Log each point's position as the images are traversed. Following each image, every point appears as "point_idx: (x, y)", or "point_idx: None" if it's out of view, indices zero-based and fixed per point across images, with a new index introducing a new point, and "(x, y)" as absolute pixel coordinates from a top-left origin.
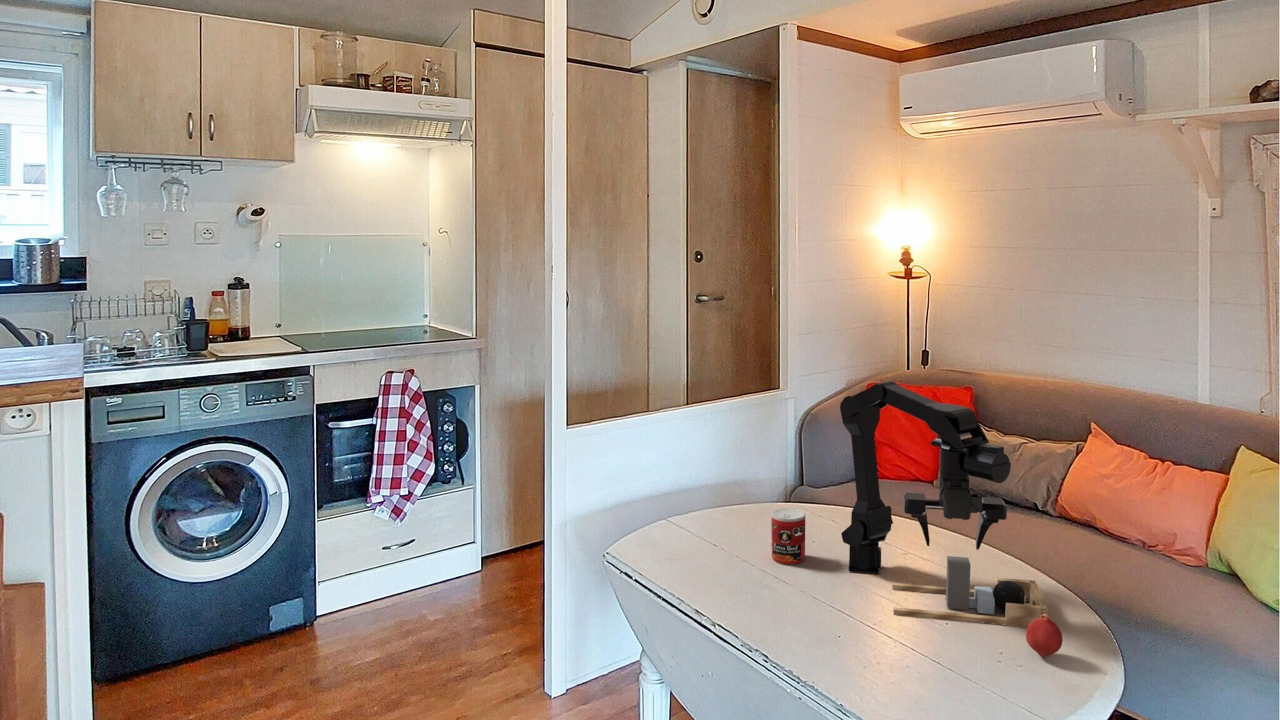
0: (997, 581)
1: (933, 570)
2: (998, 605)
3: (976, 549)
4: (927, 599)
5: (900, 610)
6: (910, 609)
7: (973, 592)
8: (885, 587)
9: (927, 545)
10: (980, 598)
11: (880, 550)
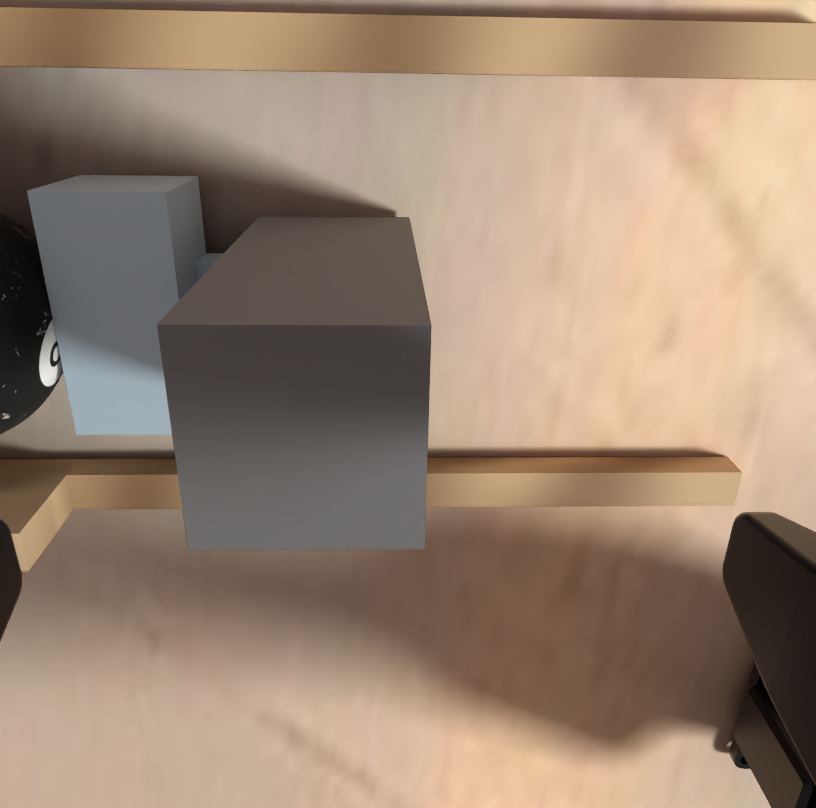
0: (27, 530)
1: (435, 738)
2: (30, 234)
3: (6, 523)
4: (525, 355)
5: (797, 23)
6: (711, 62)
7: None
8: (763, 477)
9: (773, 513)
10: (146, 196)
11: (808, 794)
